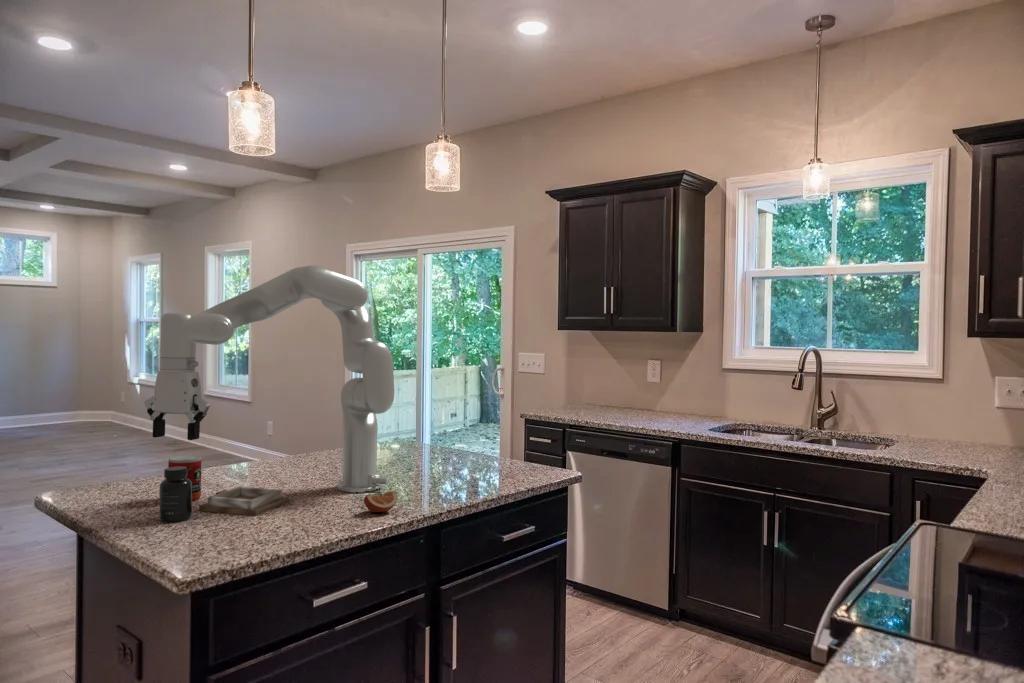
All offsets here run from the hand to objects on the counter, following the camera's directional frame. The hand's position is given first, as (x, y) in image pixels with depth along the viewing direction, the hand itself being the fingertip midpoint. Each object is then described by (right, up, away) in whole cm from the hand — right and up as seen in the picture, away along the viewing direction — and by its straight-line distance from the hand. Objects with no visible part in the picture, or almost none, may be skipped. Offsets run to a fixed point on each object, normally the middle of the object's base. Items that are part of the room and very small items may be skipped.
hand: (175, 438), depth 157 cm
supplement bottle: (0, -19, 0) cm, 19 cm away
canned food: (-7, -19, +18) cm, 27 cm away
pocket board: (+11, -19, +12) cm, 25 cm away
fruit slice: (+47, -20, +9) cm, 51 cm away
